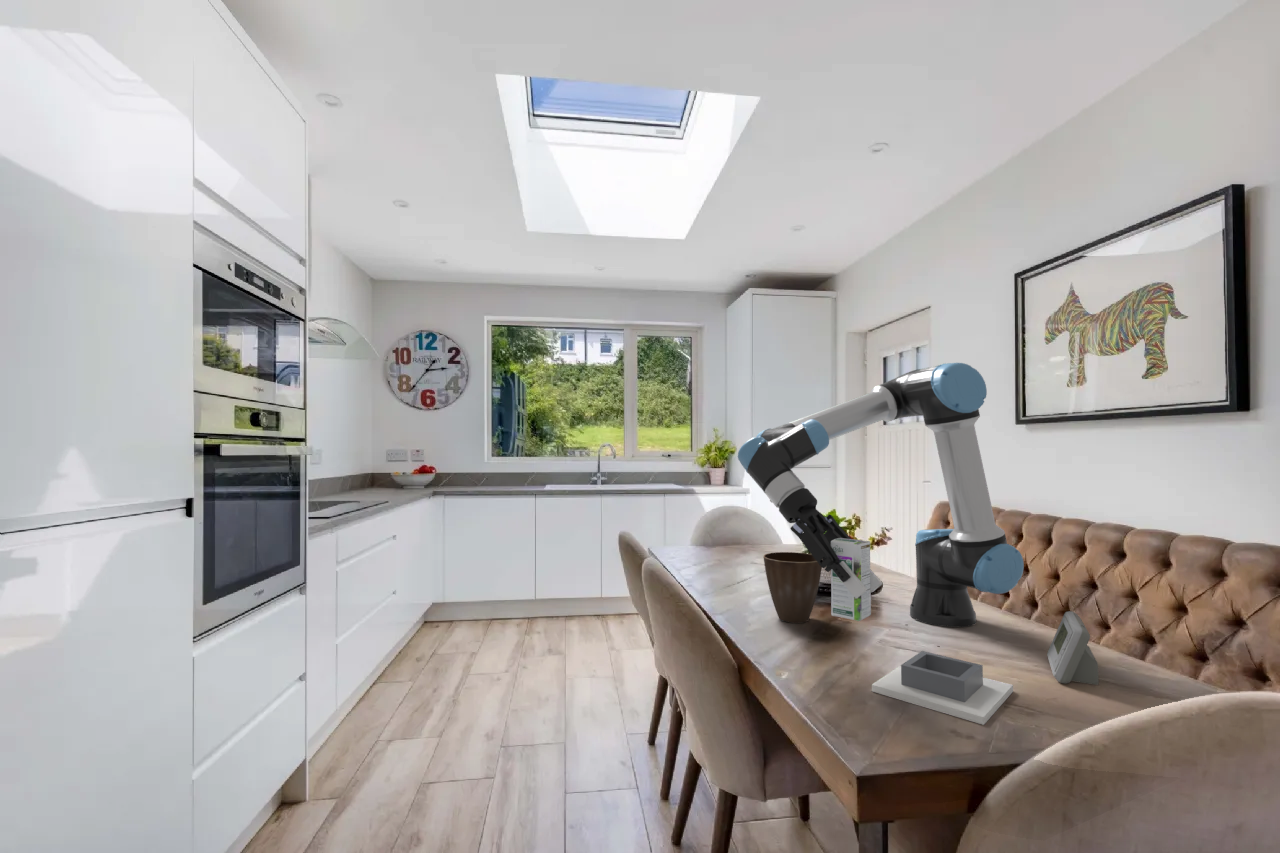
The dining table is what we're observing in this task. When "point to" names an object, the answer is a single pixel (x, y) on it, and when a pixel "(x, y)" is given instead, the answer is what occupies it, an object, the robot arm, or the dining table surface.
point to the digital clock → (1072, 652)
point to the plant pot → (792, 584)
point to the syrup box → (859, 563)
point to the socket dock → (945, 686)
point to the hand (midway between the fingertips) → (869, 590)
